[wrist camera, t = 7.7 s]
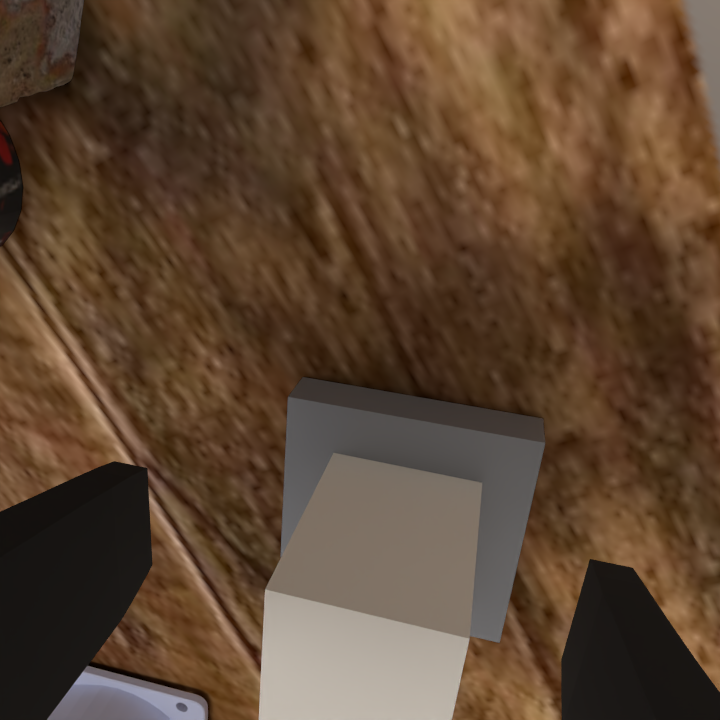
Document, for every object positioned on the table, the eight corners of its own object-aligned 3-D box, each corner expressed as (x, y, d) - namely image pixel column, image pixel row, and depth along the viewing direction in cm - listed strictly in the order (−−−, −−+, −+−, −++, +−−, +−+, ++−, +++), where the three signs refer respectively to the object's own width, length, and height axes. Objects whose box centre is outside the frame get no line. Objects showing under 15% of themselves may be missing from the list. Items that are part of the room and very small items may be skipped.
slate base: (292, 563, 24) (278, 591, 22) (302, 376, 21) (287, 397, 19) (500, 609, 22) (499, 642, 21) (543, 418, 19) (545, 443, 18)
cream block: (322, 568, 22) (258, 729, 16) (333, 452, 20) (264, 589, 14) (458, 600, 21) (438, 779, 15) (482, 482, 19) (469, 638, 14)
